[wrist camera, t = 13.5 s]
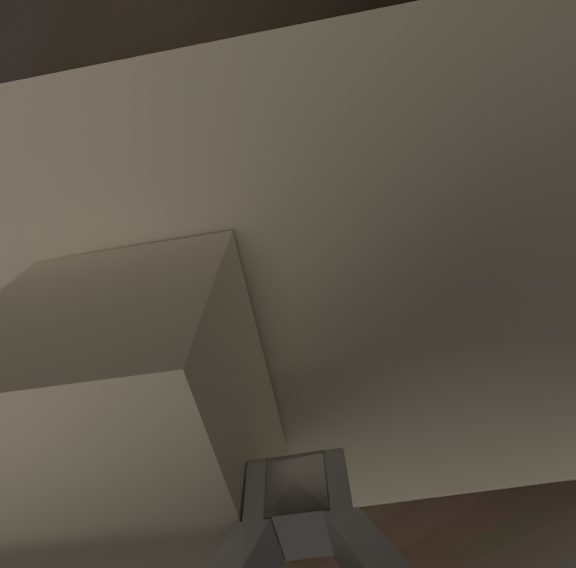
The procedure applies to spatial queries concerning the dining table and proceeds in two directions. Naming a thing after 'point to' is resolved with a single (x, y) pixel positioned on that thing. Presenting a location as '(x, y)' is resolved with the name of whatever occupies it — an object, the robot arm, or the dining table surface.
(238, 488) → the plain beige block
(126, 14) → the dining table surface
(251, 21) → the dining table surface
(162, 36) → the dining table surface
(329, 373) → the felt mat
